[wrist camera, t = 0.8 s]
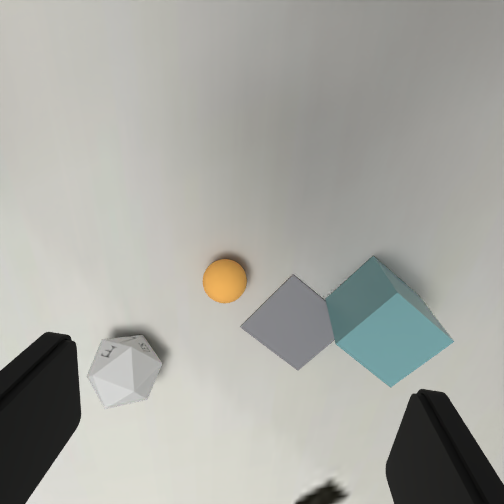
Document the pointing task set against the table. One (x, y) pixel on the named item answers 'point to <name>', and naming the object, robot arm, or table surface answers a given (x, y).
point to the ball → (224, 281)
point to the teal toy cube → (384, 323)
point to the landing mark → (292, 323)
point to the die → (124, 370)
